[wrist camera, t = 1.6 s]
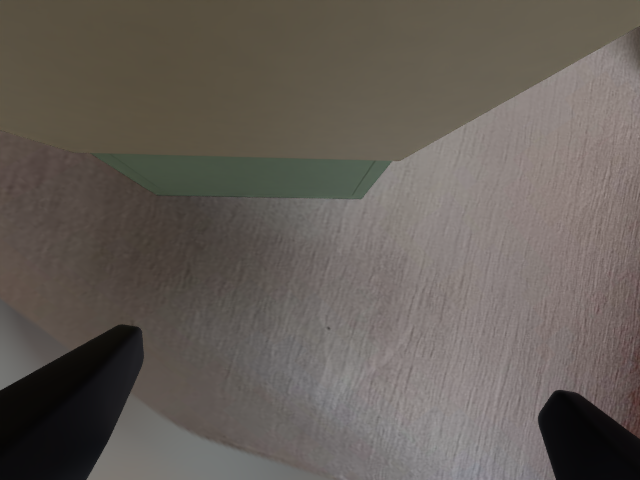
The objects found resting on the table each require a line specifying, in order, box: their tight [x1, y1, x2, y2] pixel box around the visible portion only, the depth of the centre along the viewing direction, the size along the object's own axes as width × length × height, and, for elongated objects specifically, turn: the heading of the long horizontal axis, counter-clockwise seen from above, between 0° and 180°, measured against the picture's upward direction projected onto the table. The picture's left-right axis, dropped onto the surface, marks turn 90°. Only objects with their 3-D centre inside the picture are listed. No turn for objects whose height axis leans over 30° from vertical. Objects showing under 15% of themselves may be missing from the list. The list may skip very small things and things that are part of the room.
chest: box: [91, 153, 392, 199], centre depth 19 cm, size 11×13×8 cm
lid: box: [0, 0, 640, 161], centre depth 8 cm, size 11×13×1 cm
